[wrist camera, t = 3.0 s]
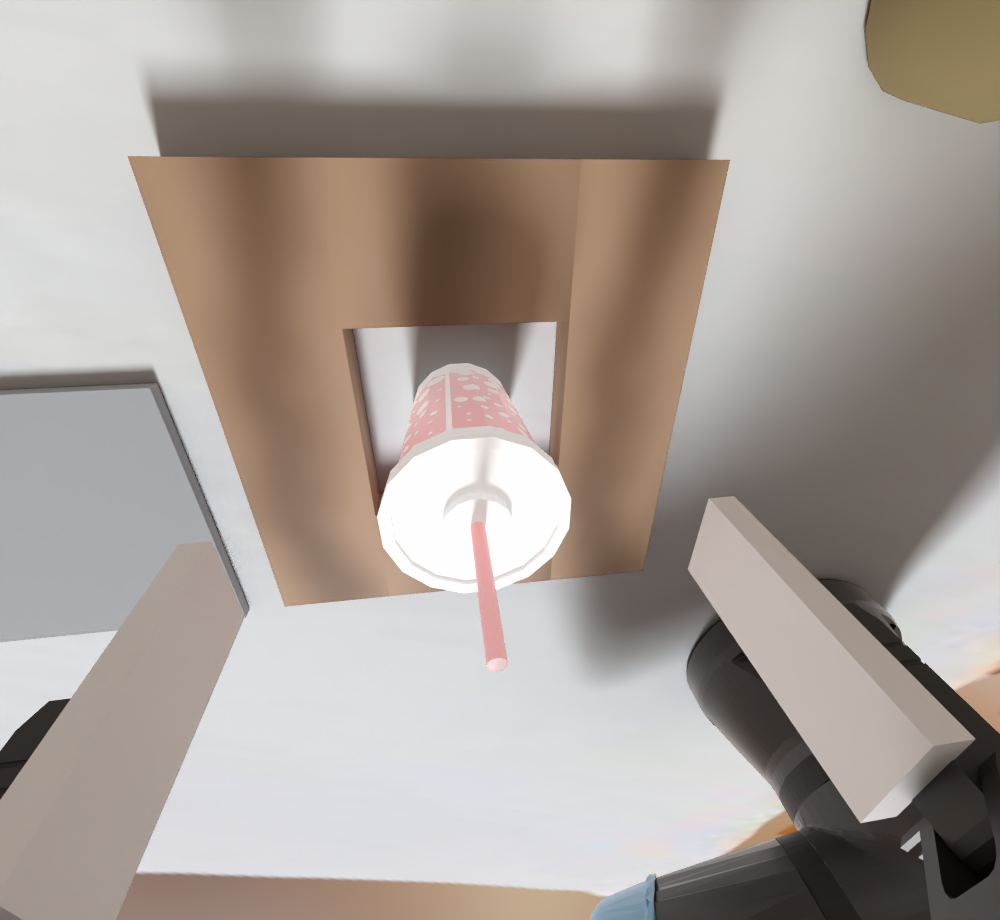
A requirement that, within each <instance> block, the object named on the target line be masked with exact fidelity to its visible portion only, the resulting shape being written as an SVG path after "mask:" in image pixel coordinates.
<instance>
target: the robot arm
mask: <svg viewBox="0 0 1000 920" xmlns="http://www.w3.org/2000/svg"><path fill="white" fill-rule="evenodd" d="M688 571H689V572H690V574H691V575H692V577H693V578H694V580H695V581H696V583H697V584H698V585H699V587H700V588H701V590H702V591H703V593H704V594H705V596H706V597H707V599H708V600H709V602H710V603H711V605H712V606H713V608H714V609H715V610H716V612H717V613H718V615H719V616H720V618H721V620H720V621H719V622H718V623H717V624H716V625H714V626H713V627H712V628H711V629H710V630H709V631H708V632H707V634H706V635H705V636H704V637H703V638H702V639H701V641H700V642H699V643H698V645H697V646H696V648H695V650H694V651H693V653H692V655H691V658H690V660H689V663H688V668H687V681H688V684H689V687H690V689H691V691H692V692H693V694H694V696H695V698H696V700H697V702H698V704H699V706H700V708H701V709H702V711H703V713H704V714H705V715H706V717H707V718H708V719H709V720H710V721H711V722H712V724H713V725H715V726H716V727H717V728H718V729H719V730H720V731H721V733H722V734H723V735H724V736H725V737H726V738H727V739H728V740H729V741H730V742H731V744H732V745H733V746H734V747H735V748H736V749H737V750H738V751H739V752H740V753H741V754H742V755H743V756H744V757H745V758H746V759H747V761H748V762H749V763H750V764H751V765H752V766H753V767H754V768H755V769H756V770H757V771H758V772H759V773H760V774H761V775H762V776H763V777H764V778H765V779H766V781H767V782H768V783H769V784H770V785H771V786H772V788H773V789H774V791H775V792H776V794H777V796H778V797H779V799H780V800H781V802H782V804H783V806H784V808H785V809H786V811H787V813H788V814H789V816H790V818H791V820H792V822H793V823H794V825H795V827H796V829H797V831H796V832H793V833H790V834H787V835H784V836H781V837H778V838H775V839H771V840H768V841H765V842H762V843H759V844H756V845H753V846H750V847H747V848H744V849H741V850H738V851H735V852H732V853H729V854H726V855H723V856H720V857H717V858H714V859H711V860H708V861H705V862H702V863H699V864H696V865H693V866H690V867H687V868H684V869H681V870H678V871H675V872H672V873H669V874H666V875H663V876H660V877H657V878H656V874H650V875H649V876H648V877H647V879H646V881H644V882H642V883H640V884H637V885H635V886H632V887H630V888H627V889H625V890H623V891H620V892H618V893H615V894H613V895H611V896H608V897H606V898H605V899H603V900H602V901H600V902H599V903H598V904H597V906H596V907H595V909H594V910H593V912H592V914H591V916H590V919H589V920H1000V734H999V733H998V732H997V731H996V730H995V729H994V728H993V727H992V726H991V725H990V724H989V723H987V722H986V721H985V720H984V719H983V718H982V717H981V716H980V715H979V714H978V713H977V712H976V711H975V710H974V709H973V708H972V707H971V706H970V705H969V704H968V703H967V702H966V701H964V700H963V699H962V698H961V697H960V696H959V695H958V694H957V693H956V692H955V691H954V690H953V689H952V688H951V687H950V686H949V685H948V684H947V683H946V682H945V681H944V680H942V679H941V678H940V677H939V676H938V675H937V674H936V673H935V672H934V671H933V670H932V669H931V668H930V667H929V666H928V665H927V664H926V663H925V664H923V663H922V662H921V659H920V658H919V657H918V656H917V655H916V654H915V653H914V652H913V651H912V650H911V649H910V648H909V647H908V646H906V645H905V644H904V642H903V641H902V636H901V632H900V629H899V627H898V626H897V624H896V622H895V621H894V619H893V618H892V617H891V616H890V614H889V613H888V612H887V611H886V610H885V609H884V608H883V607H881V606H880V605H879V604H878V603H877V602H876V601H875V600H874V599H873V598H872V597H871V596H869V595H868V594H867V593H866V592H865V591H864V590H863V589H861V588H860V587H858V586H856V585H853V584H851V583H848V582H844V581H838V580H817V579H816V578H815V577H814V576H813V575H812V574H811V573H810V572H809V571H808V570H807V569H806V568H805V567H804V566H803V565H802V564H801V563H800V562H799V561H798V560H797V559H796V558H795V557H794V556H793V555H792V554H791V553H790V552H789V551H788V550H787V549H786V548H785V547H784V546H783V545H782V544H781V543H780V542H779V541H778V540H777V539H776V538H775V537H774V536H773V535H772V534H771V533H770V532H769V531H768V530H767V529H766V528H765V527H764V526H763V525H762V524H761V523H760V522H759V521H758V520H757V519H756V517H755V516H754V515H753V514H752V513H751V512H750V511H749V510H748V509H747V508H746V507H745V506H744V505H743V504H742V503H741V502H740V501H739V500H738V499H737V498H736V497H735V496H727V497H716V498H709V499H708V502H707V506H706V509H705V513H704V516H703V519H702V523H701V526H700V530H699V533H698V536H697V540H696V543H695V546H694V550H693V553H692V557H691V560H690V563H689V567H688ZM244 617H245V616H244V614H243V611H242V609H241V607H240V604H239V602H238V600H237V598H236V595H235V593H234V591H233V588H232V586H231V584H230V582H229V579H228V577H227V575H226V572H225V570H224V568H223V565H222V563H221V561H220V559H219V556H218V554H217V552H216V549H215V547H214V545H213V542H212V541H209V542H197V543H186V544H178V546H177V547H176V549H175V550H174V552H173V553H172V554H171V556H170V557H169V559H168V560H167V562H166V563H165V565H164V566H163V567H162V569H161V570H160V572H159V573H158V575H157V576H156V577H155V579H154V580H153V582H152V583H151V585H150V586H149V587H148V589H147V590H146V592H145V593H144V595H143V596H142V597H141V599H140V600H139V602H138V603H137V605H136V606H135V608H134V609H133V610H132V612H131V613H130V615H129V616H128V618H127V619H126V620H125V622H124V623H123V625H122V626H121V628H120V629H119V630H118V632H117V633H116V635H115V636H114V638H113V639H112V640H111V642H110V643H109V645H108V646H107V648H106V649H105V651H104V652H103V653H102V655H101V656H100V658H99V659H98V661H97V662H96V663H95V665H94V666H93V668H92V669H91V671H90V672H89V673H88V675H87V676H86V678H85V679H84V681H83V682H82V684H81V685H80V686H79V688H78V689H77V691H76V692H75V694H74V695H73V696H72V698H71V699H63V700H55V701H49V702H48V703H47V704H46V705H44V706H43V707H42V708H41V709H40V710H39V711H38V712H36V713H35V714H34V715H33V716H32V717H31V718H30V719H29V720H27V721H26V722H25V723H24V724H23V725H22V726H21V727H19V728H18V729H17V730H16V731H15V732H14V734H13V735H12V736H11V738H10V739H9V740H8V742H7V743H6V744H5V746H4V747H3V748H2V750H1V751H0V920H116V918H117V915H118V913H119V910H120V908H121V906H122V903H123V901H124V899H125V896H126V894H127V892H128V889H129V887H130V885H131V882H132V880H133V878H134V875H135V873H136V871H137V868H138V866H139V864H140V861H141V859H142V857H143V854H144V852H145V849H146V847H147V845H148V842H149V840H150V838H151V835H152V833H153V831H154V828H155V826H156V824H157V821H158V819H159V817H160V814H161V812H162V810H163V807H164V805H165V803H166V800H167V798H168V795H169V793H170V791H171V788H172V786H173V784H174V781H175V779H176V777H177V774H178V772H179V770H180V767H181V765H182V763H183V760H184V758H185V756H186V753H187V751H188V749H189V746H190V744H191V741H192V739H193V737H194V734H195V732H196V730H197V727H198V725H199V723H200V720H201V718H202V716H203V713H204V711H205V709H206V706H207V704H208V702H209V699H210V697H211V695H212V692H213V690H214V687H215V685H216V683H217V680H218V678H219V676H220V673H221V671H222V669H223V666H224V664H225V662H226V659H227V657H228V655H229V652H230V650H231V648H232V645H233V643H234V641H235V638H236V636H237V633H238V631H239V629H240V626H241V624H242V622H243V619H244Z"/></svg>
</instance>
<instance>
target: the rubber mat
mask: <svg viewBox="0 0 1000 920" xmlns="http://www.w3.org/2000/svg"><path fill="white" fill-rule="evenodd" d="M209 541H212V542H213V545H214V547H215V549H216V552H217V554H218V556H219V559H220V561H221V563H222V565H223V568H224V570H225V572H226V575H227V577H228V579H229V582H230V584H231V586H232V588H233V591H234V593H235V595H236V598H237V600H238V602H239V604H240V607H241V609H242V611H243V614H244V616H245V617H246V616H247V613H248V611H249V607H248V604H247V602H246V600H245V597H244V595H243V592H242V590H241V587H240V585H239V582H238V580H237V577H236V575H235V573H234V570H233V568H232V565H231V563H230V560H229V558H228V555H227V553H226V550H225V548H224V546H223V543H222V541H221V538H220V536H219V533H218V531H217V528H216V526H215V523H214V521H213V519H212V516H211V514H210V511H209V509H208V506H207V504H206V501H205V499H204V497H203V494H202V492H201V489H200V487H199V484H198V482H197V479H196V477H195V474H194V472H193V470H192V467H191V465H190V462H189V460H188V457H187V455H186V452H185V450H184V447H183V445H182V443H181V440H180V438H179V435H178V433H177V430H176V428H175V425H174V423H173V420H172V418H171V416H170V413H169V411H168V408H167V406H166V403H165V401H164V398H163V396H162V394H161V391H160V389H159V386H158V384H157V383H145V384H123V385H101V386H79V387H57V388H35V389H14V390H0V642H7V641H16V640H26V639H36V638H46V637H56V636H66V635H76V634H85V633H95V632H105V631H115V630H119V629H120V628H121V626H122V625H123V623H124V622H125V620H126V619H127V618H128V616H129V615H130V613H131V612H132V610H133V609H134V608H135V606H136V605H137V603H138V602H139V600H140V599H141V597H142V596H143V595H144V593H145V592H146V590H147V589H148V587H149V586H150V585H151V583H152V582H153V580H154V579H155V577H156V576H157V575H158V573H159V572H160V570H161V569H162V567H163V566H164V565H165V563H166V562H167V560H168V559H169V557H170V556H171V554H172V553H173V552H174V550H175V549H176V547H177V546H178V544H186V543H197V542H209Z"/></svg>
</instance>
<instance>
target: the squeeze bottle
mask: <svg viewBox="0 0 1000 920" xmlns="http://www.w3.org/2000/svg"><path fill="white" fill-rule="evenodd" d="M865 34H866V45H867V56H868V67H869V69H870V70H871V72H872V74H873V75H874V77H875V79H876V80H877V82H878V84H879V86H880V87H881V89H882V91H884V92H886V93H888V94H891V95H893V96H895V97H897V98H900V99H902V100H904V101H907V102H910V103H913V104H917V105H920V106H923V107H927V108H930V109H933V110H937V111H940V112H943V113H947V114H950V115H953V116H957V117H960V118H963V119H967V120H970V121H973V122H977V123H980V124H981V123H987V122H993V121H999V120H1000V0H871V5H870V10H869V15H868V19H867V24H866V29H865Z"/></svg>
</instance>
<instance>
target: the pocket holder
mask: <svg viewBox="0 0 1000 920" xmlns="http://www.w3.org/2000/svg"><path fill="white" fill-rule="evenodd" d="M128 158H129V161H130V164H131V167H132V170H133V173H134V176H135V178H136V181H137V184H138V187H139V190H140V193H141V196H142V198H143V201H144V204H145V207H146V210H147V213H148V216H149V219H150V221H151V224H152V227H153V230H154V233H155V236H156V239H157V241H158V244H159V247H160V250H161V253H162V256H163V259H164V262H165V264H166V267H167V270H168V273H169V276H170V279H171V282H172V284H173V287H174V290H175V293H176V296H177V299H178V302H179V304H180V307H181V310H182V313H183V316H184V319H185V322H186V325H187V327H188V330H189V333H190V336H191V339H192V342H193V345H194V347H195V350H196V353H197V356H198V359H199V362H200V365H201V368H202V370H203V373H204V376H205V379H206V382H207V385H208V388H209V390H210V393H211V396H212V399H213V402H214V405H215V408H216V410H217V413H218V416H219V419H220V422H221V425H222V428H223V431H224V433H225V436H226V439H227V442H228V445H229V448H230V451H231V453H232V456H233V459H234V462H235V465H236V468H237V471H238V474H239V476H240V479H241V482H242V485H243V488H244V491H245V494H246V496H247V499H248V502H249V505H250V508H251V511H252V514H253V516H254V519H255V522H256V525H257V528H258V531H259V534H260V537H261V539H262V542H263V545H264V548H265V551H266V554H267V557H268V559H269V562H270V565H271V568H272V571H273V574H274V577H275V580H276V582H277V585H278V588H279V591H280V594H281V597H282V600H283V602H284V605H285V606H295V605H305V604H315V603H325V602H335V601H345V600H355V599H365V598H375V597H385V596H395V595H405V594H415V593H425V592H435V591H445V590H444V589H438V588H433V587H430V586H428V585H426V584H424V583H422V582H421V581H419V580H417V579H415V578H413V577H412V576H410V575H408V574H406V573H404V572H402V570H401V569H400V568H399V567H398V565H397V564H396V563H395V562H394V560H393V559H392V558H391V556H390V555H389V554H388V553H387V551H386V550H385V549H384V548H383V544H382V539H381V534H380V528H379V523H378V518H377V515H378V510H379V507H380V504H381V499H382V496H383V493H384V492H381V493H379V487H378V481H377V475H376V469H375V463H374V457H373V451H372V445H371V439H370V433H369V427H368V421H367V415H366V409H365V403H364V397H363V391H362V385H361V379H360V373H359V367H358V361H357V355H356V349H355V343H354V337H353V331H352V329H354V328H383V327H411V326H440V325H469V324H497V323H526V322H555V321H557V331H556V347H555V364H554V381H553V397H552V414H551V431H550V447H549V456H550V457H552V459H553V461H554V463H555V465H557V467H558V469H559V472H560V474H561V476H562V479H563V481H564V483H565V485H566V488H567V490H568V492H569V495H570V497H571V511H570V524H569V530H568V532H567V533H566V535H565V537H564V539H563V541H562V542H561V544H560V546H559V548H558V549H557V551H556V553H555V555H554V556H553V557H552V558H551V559H549V560H548V561H547V562H546V563H545V564H543V565H542V566H541V567H540V568H539V569H537V570H536V571H535V572H534V573H533V574H531V575H530V576H529V577H526V578H524V579H522V580H519V581H517V582H514V583H512V584H516V583H526V582H536V581H546V580H556V579H566V578H576V577H586V576H596V575H606V574H616V573H626V572H636V571H643V567H644V562H645V557H646V553H647V548H648V543H649V538H650V534H651V529H652V524H653V520H654V515H655V510H656V506H657V501H658V496H659V491H660V487H661V482H662V477H663V473H664V468H665V463H666V458H667V454H668V449H669V444H670V440H671V435H672V430H673V426H674V421H675V416H676V411H677V407H678V402H679V397H680V393H681V388H682V383H683V378H684V374H685V369H686V364H687V360H688V355H689V350H690V346H691V341H692V336H693V331H694V327H695V322H696V317H697V313H698V308H699V303H700V298H701V294H702V289H703V284H704V280H705V275H706V270H707V265H708V261H709V256H710V251H711V247H712V242H713V237H714V233H715V228H716V223H717V218H718V214H719V209H720V204H721V200H722V195H723V190H724V185H725V181H726V176H727V171H728V167H729V162H730V160H644V159H479V158H314V157H149V156H128Z"/></svg>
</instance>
